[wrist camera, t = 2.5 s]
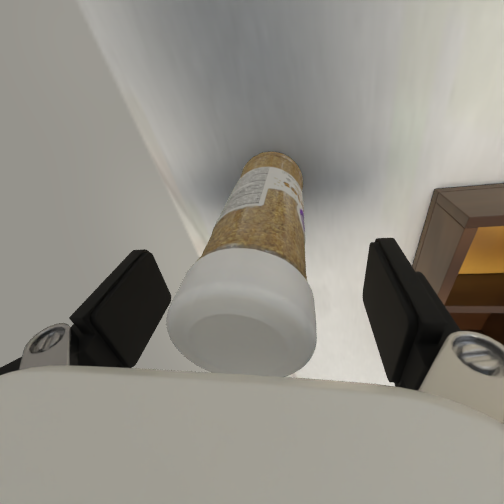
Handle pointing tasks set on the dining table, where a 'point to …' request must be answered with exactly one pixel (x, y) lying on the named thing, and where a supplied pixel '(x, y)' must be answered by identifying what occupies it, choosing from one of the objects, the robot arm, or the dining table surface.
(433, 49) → the dining table surface
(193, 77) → the dining table surface
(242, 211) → the sprinkles bottle
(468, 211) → the tray
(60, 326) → the robot arm
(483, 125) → the dining table surface
